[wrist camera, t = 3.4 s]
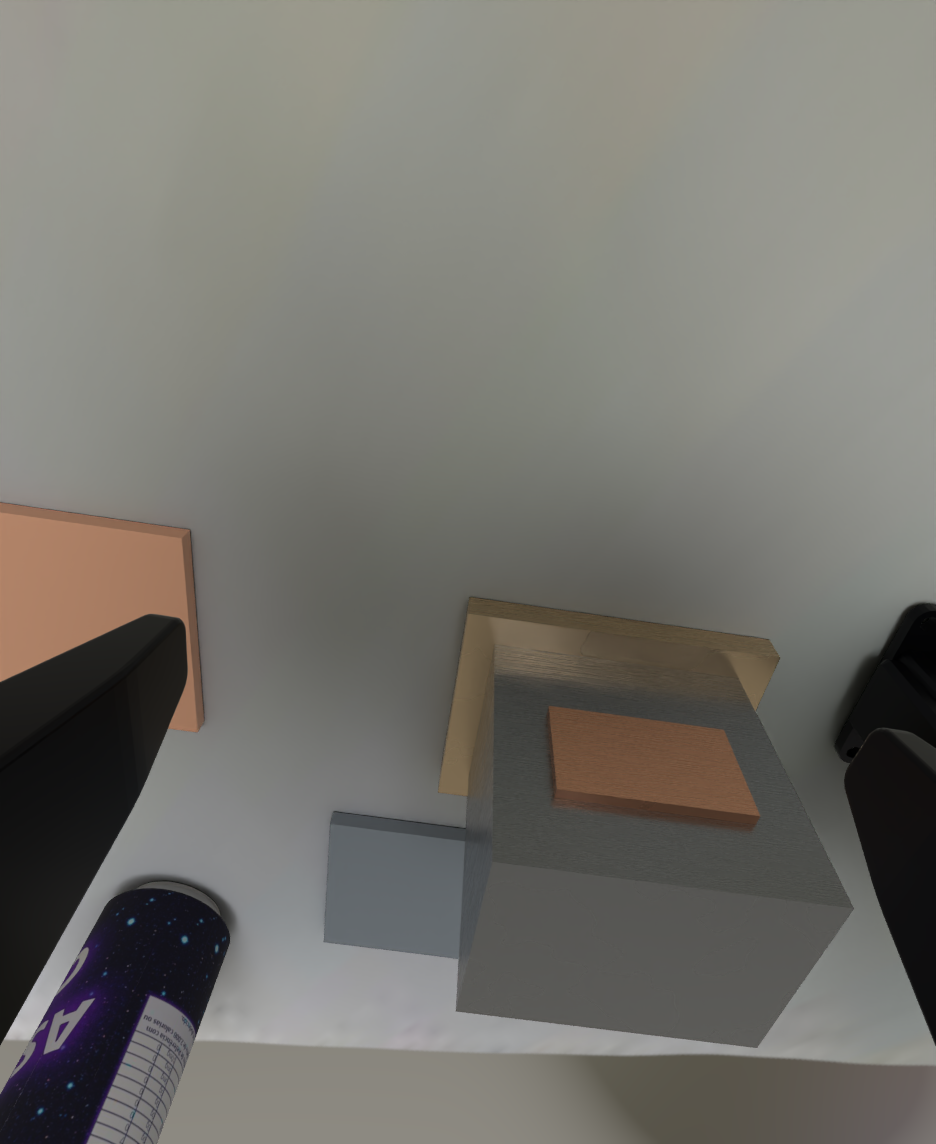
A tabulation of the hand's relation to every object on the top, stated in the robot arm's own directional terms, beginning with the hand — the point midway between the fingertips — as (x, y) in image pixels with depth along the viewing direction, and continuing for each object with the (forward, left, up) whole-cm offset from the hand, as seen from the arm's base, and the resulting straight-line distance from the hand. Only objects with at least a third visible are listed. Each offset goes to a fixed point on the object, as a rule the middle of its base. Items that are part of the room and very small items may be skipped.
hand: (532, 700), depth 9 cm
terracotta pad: (+13, +9, -12) cm, 20 cm away
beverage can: (+11, +25, -12) cm, 30 cm away
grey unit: (-5, +10, -12) cm, 16 cm away
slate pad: (0, +21, -12) cm, 24 cm away
